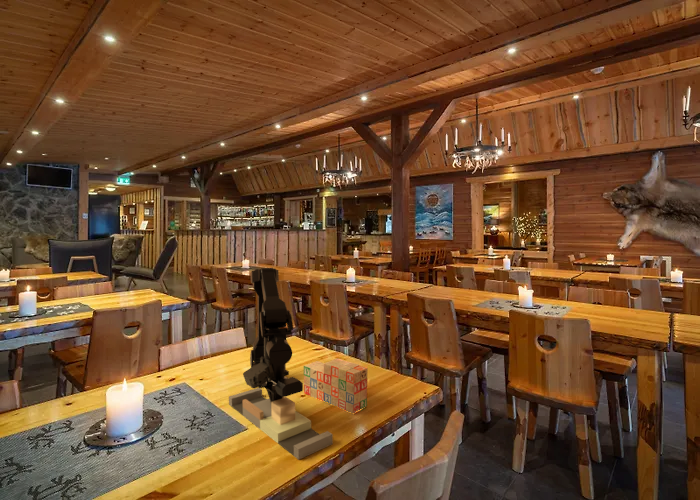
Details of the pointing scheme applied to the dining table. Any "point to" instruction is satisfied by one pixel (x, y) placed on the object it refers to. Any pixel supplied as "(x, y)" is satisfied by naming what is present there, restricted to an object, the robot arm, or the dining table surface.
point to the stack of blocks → (337, 383)
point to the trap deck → (288, 435)
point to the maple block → (283, 410)
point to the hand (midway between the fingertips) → (275, 408)
